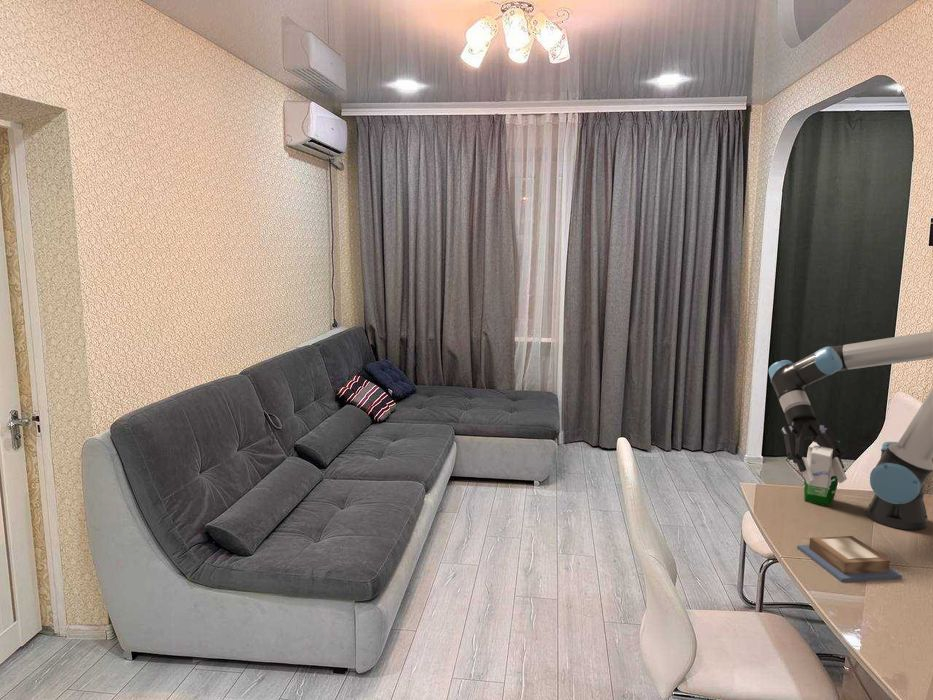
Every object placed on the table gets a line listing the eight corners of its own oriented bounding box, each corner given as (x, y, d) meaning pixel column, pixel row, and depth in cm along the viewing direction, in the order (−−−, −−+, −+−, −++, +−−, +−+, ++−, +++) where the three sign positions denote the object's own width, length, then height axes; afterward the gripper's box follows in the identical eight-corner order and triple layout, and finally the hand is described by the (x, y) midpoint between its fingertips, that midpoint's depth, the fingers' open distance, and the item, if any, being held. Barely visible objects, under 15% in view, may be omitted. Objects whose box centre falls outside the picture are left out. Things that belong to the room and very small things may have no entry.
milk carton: (832, 508, 212) (838, 445, 208) (800, 501, 217) (806, 439, 214) (837, 499, 218) (843, 439, 215) (806, 493, 224) (812, 433, 220)
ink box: (826, 497, 186) (831, 455, 184) (806, 494, 189) (810, 452, 187) (829, 488, 193) (833, 447, 191) (810, 484, 196) (814, 444, 194)
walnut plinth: (850, 546, 184) (852, 535, 183) (888, 571, 170) (890, 559, 169) (808, 548, 182) (810, 537, 182) (843, 574, 168) (845, 561, 168)
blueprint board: (852, 545, 186) (852, 542, 186) (901, 578, 168) (902, 575, 168) (797, 548, 184) (797, 545, 184) (841, 581, 166) (841, 578, 166)
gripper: (825, 415, 204) (856, 486, 191) (757, 416, 202) (783, 488, 189) (838, 402, 198) (871, 474, 185) (768, 403, 196) (796, 476, 183)
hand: (827, 481), depth 187 cm, fingers closed on ink box, 9 cm apart
